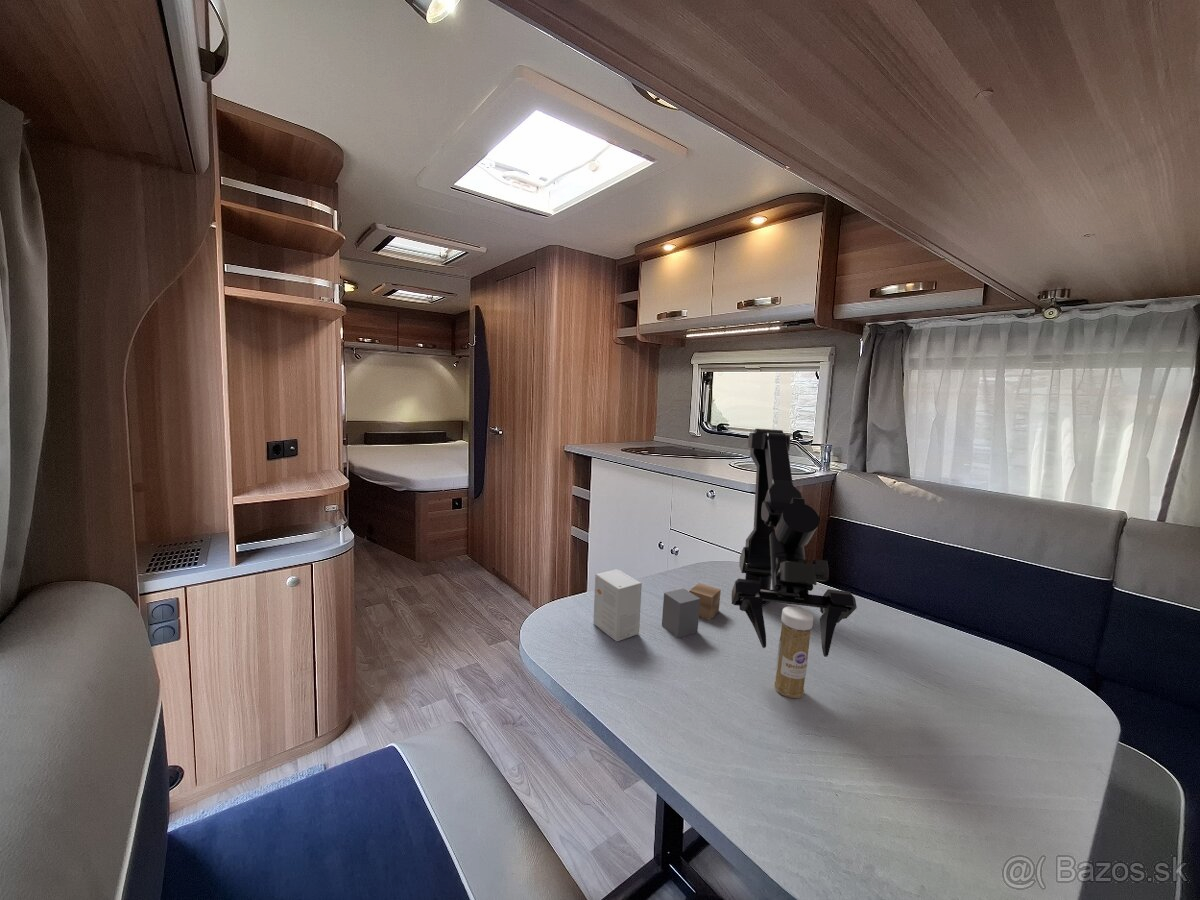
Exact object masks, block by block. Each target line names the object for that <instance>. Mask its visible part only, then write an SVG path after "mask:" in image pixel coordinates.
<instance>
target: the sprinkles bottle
mask: <svg viewBox="0 0 1200 900" xmlns="http://www.w3.org/2000/svg"><path fill="white" fill-rule="evenodd" d="M813 625H814V615H813V613H811V612H810V611H809V610H808V609H806V608H803V607H798V606H784V607H783V608H782V612H781V629H780V635H779V636H780V637H779V641H778V642H779V643H778V650H777V657H776V658H777V660H776V667H775V668H776V672H775V673H776V674H775V681H774V685H773V686H774V689H775V690H776V692H778V693H779V694H780V693H781V695H782V696H785V697H787V698H790V699H800V698H802V697H803V695H804V693H805V688H804V687H805V680H806V675H807V667H808V660H809V649H810V640H811V639H810V638H811V631H812V629H813Z"/></svg>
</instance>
